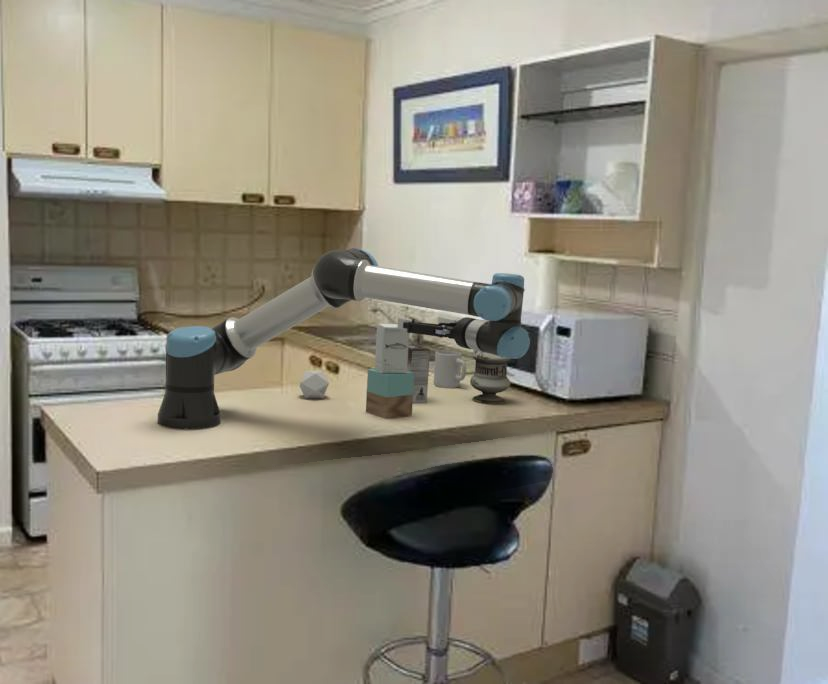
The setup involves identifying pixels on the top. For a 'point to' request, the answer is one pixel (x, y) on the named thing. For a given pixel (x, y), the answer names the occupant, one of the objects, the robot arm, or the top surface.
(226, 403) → the top surface
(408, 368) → the coffee box
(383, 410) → the block lower
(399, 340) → the supplement box
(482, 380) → the apothecary jar
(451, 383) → the mug
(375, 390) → the block upper
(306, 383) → the die
